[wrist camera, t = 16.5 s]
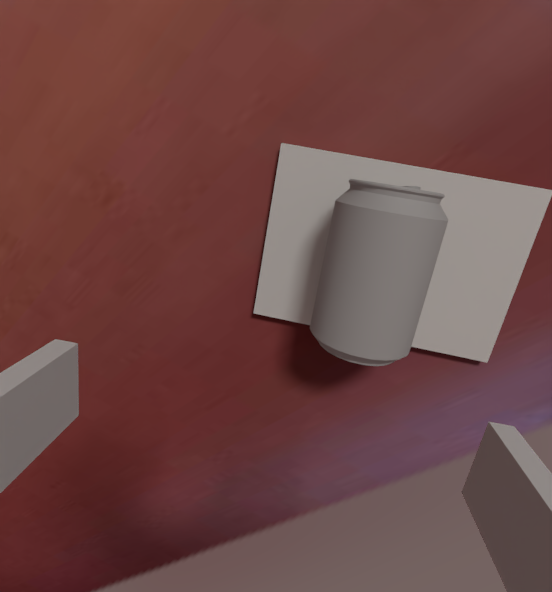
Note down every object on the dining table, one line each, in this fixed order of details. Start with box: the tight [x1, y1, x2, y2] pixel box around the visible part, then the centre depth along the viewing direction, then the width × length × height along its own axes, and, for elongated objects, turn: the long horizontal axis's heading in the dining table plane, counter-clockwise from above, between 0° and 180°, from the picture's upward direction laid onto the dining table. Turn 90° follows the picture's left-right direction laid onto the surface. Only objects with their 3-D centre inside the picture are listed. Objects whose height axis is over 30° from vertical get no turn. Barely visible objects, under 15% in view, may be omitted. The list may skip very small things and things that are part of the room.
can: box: [310, 179, 448, 366], centre depth 27 cm, size 8×8×12 cm
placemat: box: [253, 143, 552, 363], centre depth 31 cm, size 20×14×1 cm
